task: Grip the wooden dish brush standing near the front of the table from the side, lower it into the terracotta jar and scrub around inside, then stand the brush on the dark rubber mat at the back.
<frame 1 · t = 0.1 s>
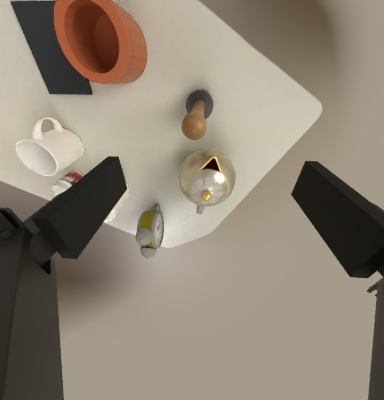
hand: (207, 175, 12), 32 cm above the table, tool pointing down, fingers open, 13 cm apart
pill bottle: (78, 176, 52), on the table
teapot: (205, 169, 47), on the table
mat: (57, 53, 34), on the table
alarm clock: (155, 214, 59), on the table
brush: (200, 103, 37), on the table
mug 2: (115, 185, 53), on the table
jar: (120, 49, 33), on the table
mug: (68, 137, 45), on the table
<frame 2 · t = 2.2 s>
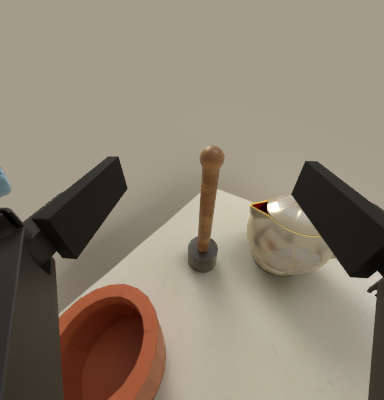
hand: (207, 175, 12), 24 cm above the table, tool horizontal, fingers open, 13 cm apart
teapot: (280, 259, 34), on the table
brush: (201, 259, 34), on the table
jar: (124, 361, 22), on the table
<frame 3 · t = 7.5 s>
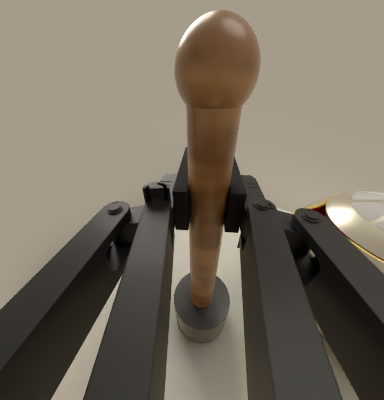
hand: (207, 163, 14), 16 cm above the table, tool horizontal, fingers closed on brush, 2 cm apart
teapot: (335, 303, 20), on the table
brush: (200, 311, 19), on the table, touching gripper
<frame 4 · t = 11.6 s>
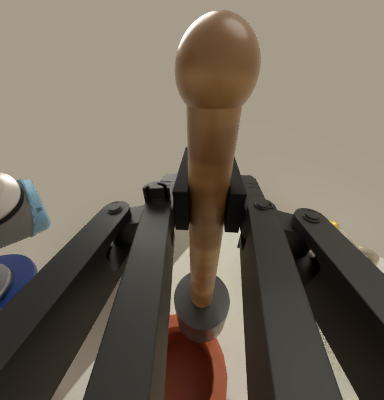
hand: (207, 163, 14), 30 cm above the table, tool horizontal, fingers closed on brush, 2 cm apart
teapot: (304, 276, 37), on the table
brush: (200, 311, 19), point 14 cm above the table, touching gripper
jar: (181, 383, 24), on the table
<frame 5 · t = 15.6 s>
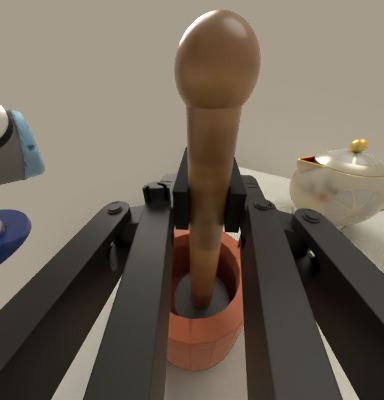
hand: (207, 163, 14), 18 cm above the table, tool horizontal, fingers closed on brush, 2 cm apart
teapot: (322, 220, 34), on the table
brush: (200, 312, 19), point 2 cm above the table, touching gripper
jar: (194, 310, 21), on the table
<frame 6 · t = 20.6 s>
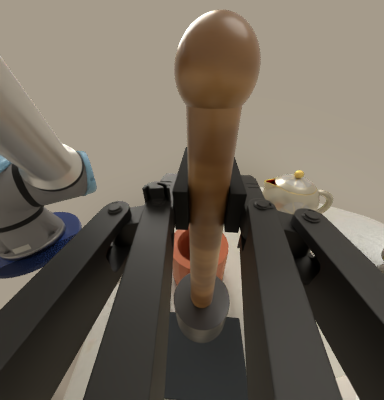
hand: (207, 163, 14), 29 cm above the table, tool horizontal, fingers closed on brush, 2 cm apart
teapot: (284, 220, 50), on the table
mat: (198, 352, 26), on the table
brush: (200, 312, 19), point 13 cm above the table, touching gripper
jar: (198, 271, 37), on the table
when the fingers open (17 cm above the table, at t = 24.1 s): brush stays where it is, resting on mat.
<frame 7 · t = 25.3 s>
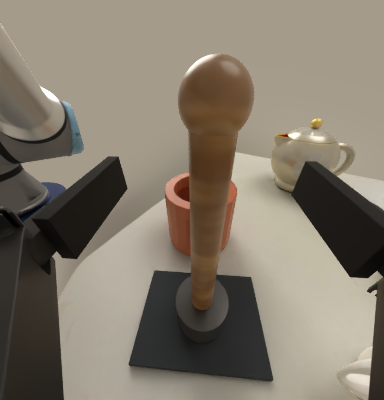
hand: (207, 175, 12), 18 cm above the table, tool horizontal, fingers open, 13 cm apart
teapot: (296, 186, 44), on the table
mat: (200, 314, 20), on the table
brush: (201, 313, 20), point 1 cm above the table, touching mat
jar: (199, 232, 31), on the table
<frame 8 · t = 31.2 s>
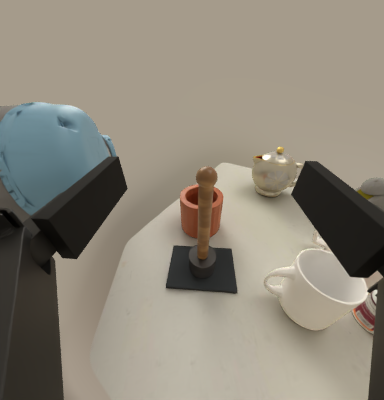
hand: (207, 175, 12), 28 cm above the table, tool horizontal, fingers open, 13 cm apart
pill bottle: (367, 320, 29), on the table
teapot: (271, 192, 61), on the table
mat: (201, 267, 37), on the table
alarm clock: (358, 228, 46), on the table
brush: (201, 266, 36), point 1 cm above the table, touching mat
mug 2: (342, 262, 37), on the table
jar: (200, 223, 47), on the table
mug: (290, 301, 31), on the table
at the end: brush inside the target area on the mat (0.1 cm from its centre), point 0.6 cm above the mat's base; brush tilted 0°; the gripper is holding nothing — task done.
